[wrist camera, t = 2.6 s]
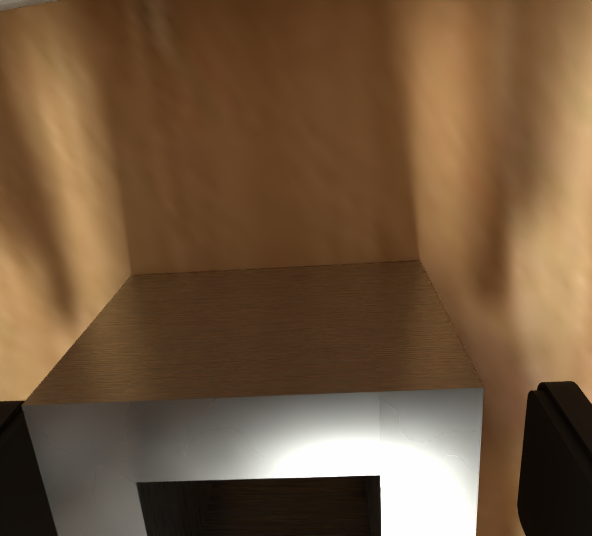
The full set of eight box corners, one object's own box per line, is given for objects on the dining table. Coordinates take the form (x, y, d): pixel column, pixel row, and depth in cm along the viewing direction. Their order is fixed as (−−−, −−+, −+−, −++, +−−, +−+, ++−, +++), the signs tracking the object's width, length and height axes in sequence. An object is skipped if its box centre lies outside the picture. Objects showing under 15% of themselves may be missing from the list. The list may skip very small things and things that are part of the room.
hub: (417, 494, 14) (466, 704, 10) (172, 501, 15) (106, 707, 10) (420, 261, 12) (484, 388, 8) (130, 276, 13) (21, 405, 8)
